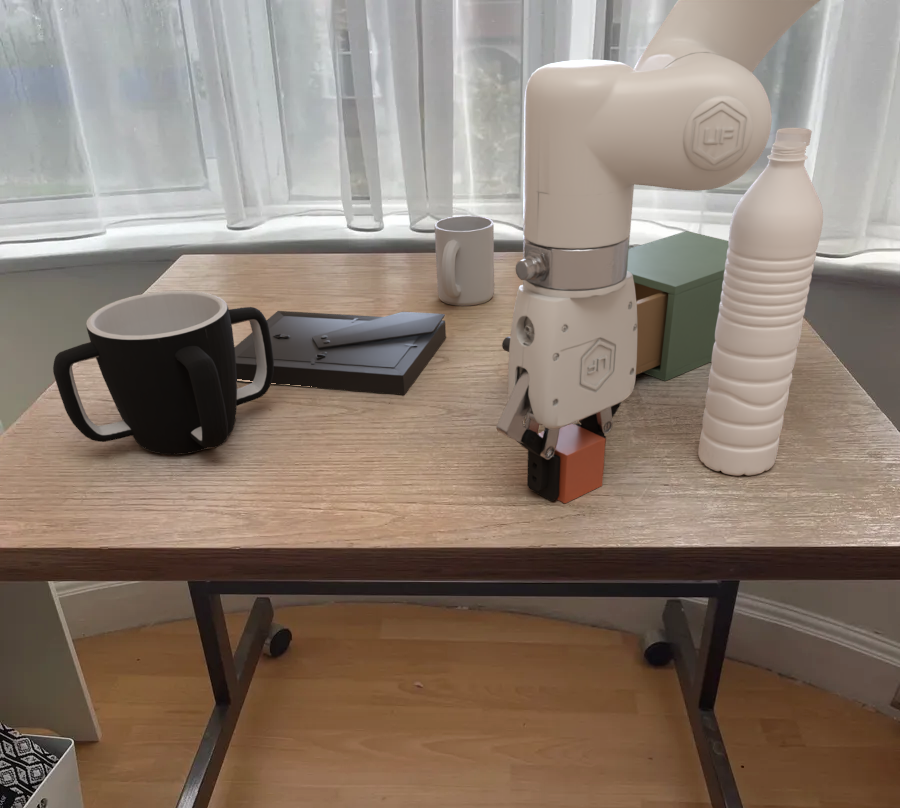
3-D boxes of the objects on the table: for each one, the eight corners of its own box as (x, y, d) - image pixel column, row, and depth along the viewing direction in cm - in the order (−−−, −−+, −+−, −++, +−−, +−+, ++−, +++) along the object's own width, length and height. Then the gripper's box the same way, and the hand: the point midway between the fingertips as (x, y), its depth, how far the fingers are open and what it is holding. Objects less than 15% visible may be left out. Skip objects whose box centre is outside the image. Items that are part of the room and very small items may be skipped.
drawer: (559, 413, 85) (562, 333, 80) (487, 381, 91) (486, 304, 86) (689, 360, 94) (698, 284, 89) (615, 333, 100) (620, 262, 95)
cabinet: (665, 381, 92) (675, 286, 86) (583, 350, 99) (588, 261, 93) (759, 341, 99) (774, 251, 93) (676, 315, 106) (686, 230, 101)
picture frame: (446, 338, 103) (280, 327, 108) (444, 314, 102) (276, 304, 107) (404, 395, 91) (220, 380, 96) (402, 368, 90) (215, 355, 95)
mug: (300, 408, 90) (281, 287, 83) (220, 487, 78) (191, 353, 71) (158, 393, 94) (129, 277, 87) (62, 465, 82) (19, 338, 75)
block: (602, 485, 75) (606, 438, 73) (564, 504, 73) (567, 455, 71) (565, 467, 78) (567, 420, 76) (528, 484, 76) (529, 437, 73)
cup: (502, 290, 116) (501, 217, 111) (474, 316, 109) (473, 240, 103) (450, 285, 118) (447, 214, 113) (420, 311, 111) (415, 236, 106)
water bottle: (771, 482, 75) (837, 152, 60) (692, 471, 77) (736, 149, 62) (780, 436, 81) (841, 128, 66) (706, 427, 83) (750, 126, 68)
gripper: (523, 302, 58) (520, 538, 69) (692, 247, 66) (666, 466, 77) (451, 276, 63) (459, 501, 74) (617, 228, 71) (602, 437, 82)
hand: (565, 481), depth 76 cm, fingers closed on block, 4 cm apart
